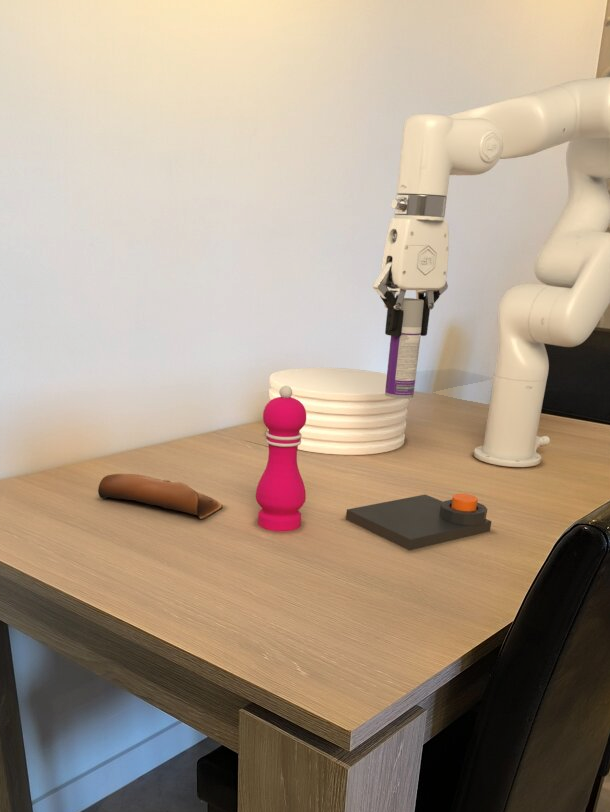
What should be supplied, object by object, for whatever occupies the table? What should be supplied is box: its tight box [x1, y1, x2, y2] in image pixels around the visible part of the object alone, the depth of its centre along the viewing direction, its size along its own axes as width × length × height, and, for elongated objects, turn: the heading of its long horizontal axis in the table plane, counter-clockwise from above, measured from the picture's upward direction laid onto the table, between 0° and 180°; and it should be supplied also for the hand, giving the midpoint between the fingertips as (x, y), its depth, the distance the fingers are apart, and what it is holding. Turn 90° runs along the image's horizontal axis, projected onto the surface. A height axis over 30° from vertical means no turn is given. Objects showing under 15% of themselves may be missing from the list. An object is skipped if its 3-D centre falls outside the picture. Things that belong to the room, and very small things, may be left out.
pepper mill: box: [255, 386, 307, 532], centre depth 116 cm, size 7×7×20 cm
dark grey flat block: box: [345, 494, 492, 551], centre depth 122 cm, size 16×14×4 cm
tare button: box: [451, 493, 479, 511], centre depth 121 cm, size 4×4×2 cm
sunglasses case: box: [97, 473, 223, 520], centre depth 126 cm, size 18×7×7 cm
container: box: [385, 297, 424, 399], centre depth 133 cm, size 5×5×15 cm
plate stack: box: [267, 367, 410, 456], centre depth 167 cm, size 28×28×12 cm
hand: (406, 333), depth 132 cm, fingers closed on container, 4 cm apart
